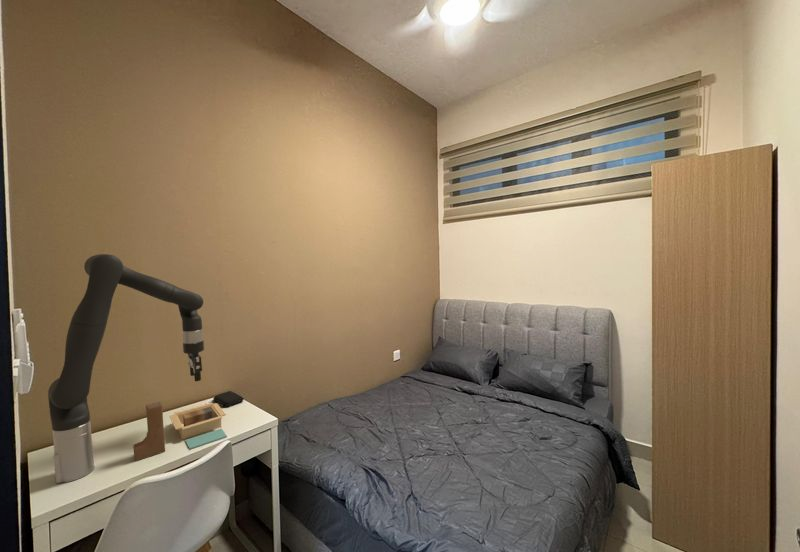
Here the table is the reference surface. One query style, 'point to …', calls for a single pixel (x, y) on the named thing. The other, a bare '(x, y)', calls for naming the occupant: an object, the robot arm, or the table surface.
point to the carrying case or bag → (228, 399)
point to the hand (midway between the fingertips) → (195, 378)
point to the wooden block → (152, 433)
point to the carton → (200, 426)
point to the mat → (205, 438)
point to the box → (197, 416)
